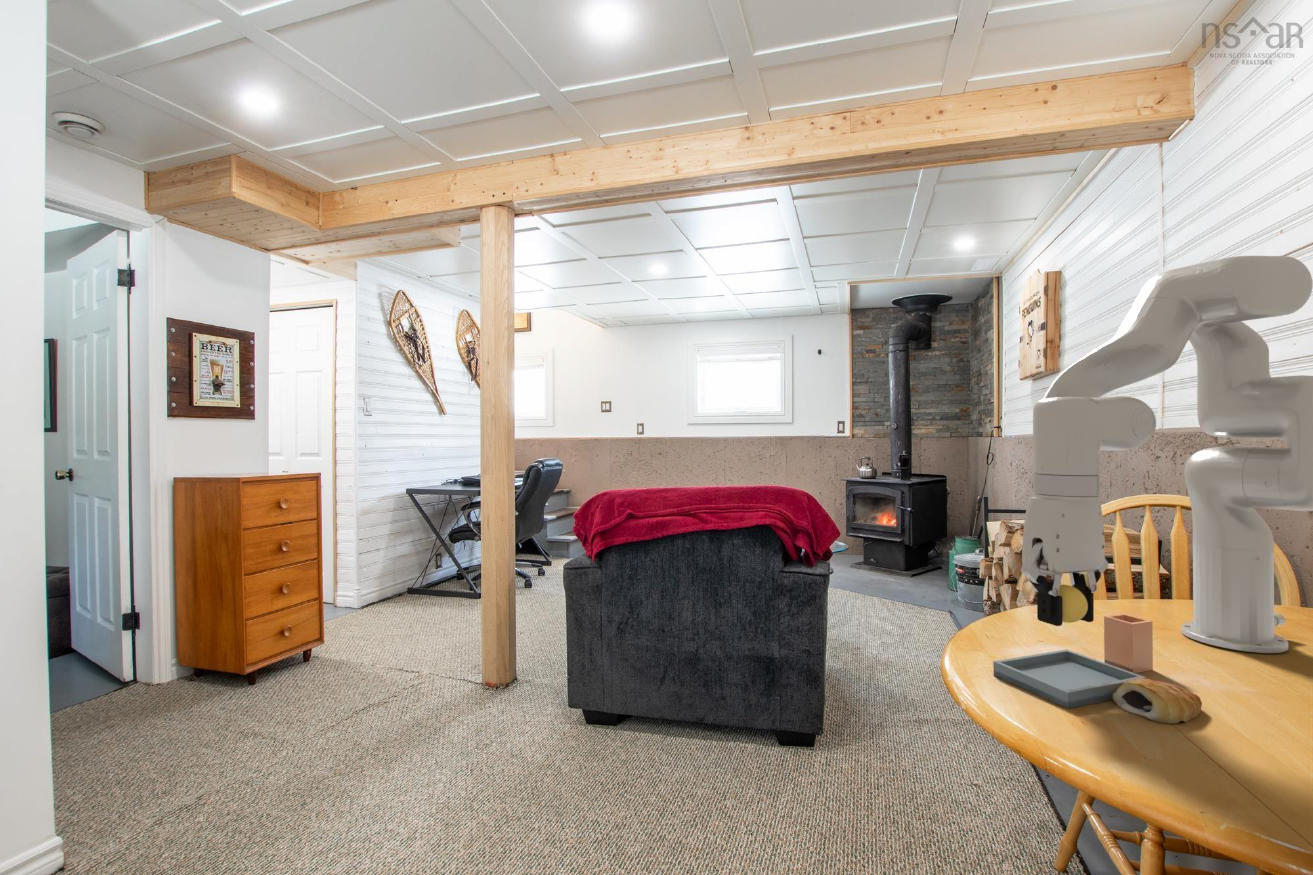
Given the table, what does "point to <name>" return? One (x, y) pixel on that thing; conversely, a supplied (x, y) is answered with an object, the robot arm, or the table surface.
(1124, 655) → the open box
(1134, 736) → the table surface
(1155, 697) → the pastry
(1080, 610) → the ball
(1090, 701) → the tray
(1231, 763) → the table surface
